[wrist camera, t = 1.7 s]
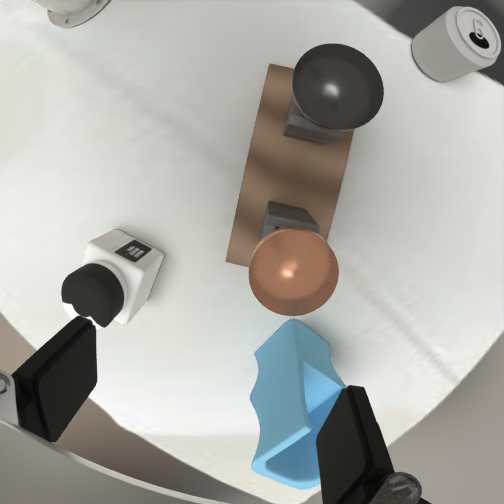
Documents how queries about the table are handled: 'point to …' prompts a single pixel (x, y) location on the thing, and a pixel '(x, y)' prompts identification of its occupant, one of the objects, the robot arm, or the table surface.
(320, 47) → the plunger black
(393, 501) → the robot arm
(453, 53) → the can
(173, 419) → the table surface
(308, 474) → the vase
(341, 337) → the table surface
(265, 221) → the stand
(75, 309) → the container
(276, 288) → the plunger terracotta
